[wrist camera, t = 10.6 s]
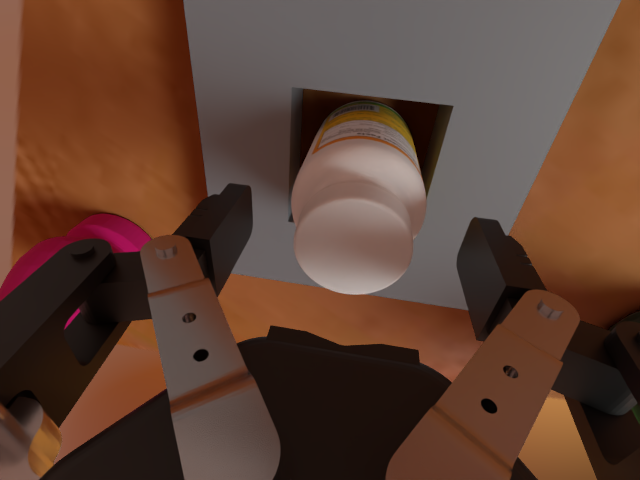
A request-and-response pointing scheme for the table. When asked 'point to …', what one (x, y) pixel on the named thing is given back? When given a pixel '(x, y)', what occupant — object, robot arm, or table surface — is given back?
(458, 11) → the socket block
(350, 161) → the supplement bottle
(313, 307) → the table surface
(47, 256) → the pepper mill
